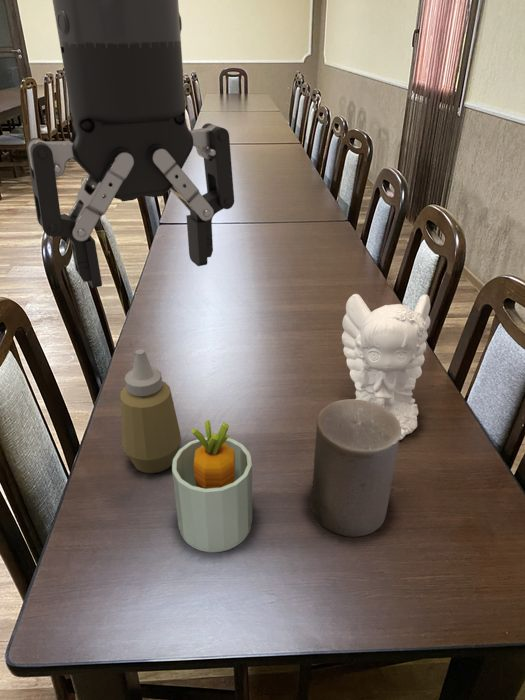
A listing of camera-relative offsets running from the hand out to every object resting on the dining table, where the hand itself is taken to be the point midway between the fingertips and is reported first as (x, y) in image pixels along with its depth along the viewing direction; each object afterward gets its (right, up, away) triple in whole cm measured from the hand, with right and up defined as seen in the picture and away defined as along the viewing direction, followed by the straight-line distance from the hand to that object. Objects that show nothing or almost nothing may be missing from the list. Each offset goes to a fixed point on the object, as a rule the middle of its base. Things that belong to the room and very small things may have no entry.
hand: (148, 272), depth 42 cm
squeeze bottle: (-6, -22, +34) cm, 41 cm away
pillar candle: (+20, -26, +27) cm, 42 cm away
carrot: (+4, -27, +24) cm, 36 cm away
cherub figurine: (+27, -17, +43) cm, 53 cm away
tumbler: (+3, -27, +24) cm, 37 cm away
